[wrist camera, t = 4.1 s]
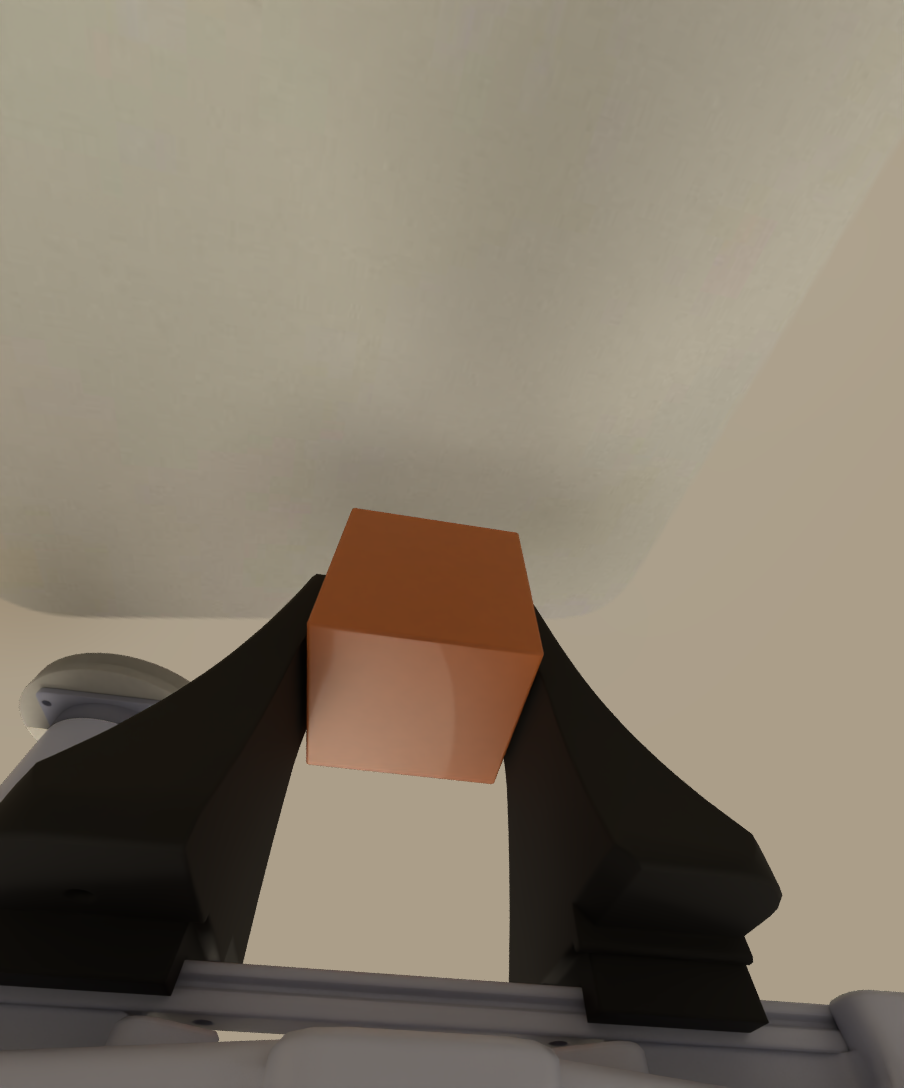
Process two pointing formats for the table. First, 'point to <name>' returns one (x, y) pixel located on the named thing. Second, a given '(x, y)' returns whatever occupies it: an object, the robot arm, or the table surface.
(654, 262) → the table surface
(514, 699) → the block
